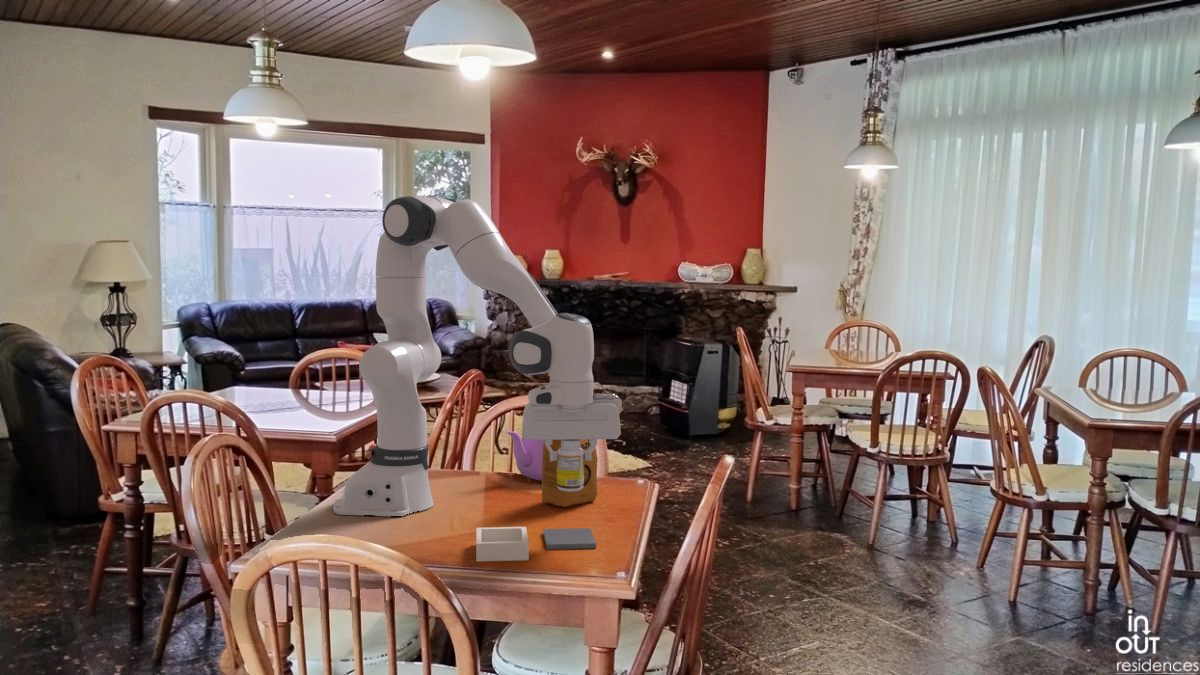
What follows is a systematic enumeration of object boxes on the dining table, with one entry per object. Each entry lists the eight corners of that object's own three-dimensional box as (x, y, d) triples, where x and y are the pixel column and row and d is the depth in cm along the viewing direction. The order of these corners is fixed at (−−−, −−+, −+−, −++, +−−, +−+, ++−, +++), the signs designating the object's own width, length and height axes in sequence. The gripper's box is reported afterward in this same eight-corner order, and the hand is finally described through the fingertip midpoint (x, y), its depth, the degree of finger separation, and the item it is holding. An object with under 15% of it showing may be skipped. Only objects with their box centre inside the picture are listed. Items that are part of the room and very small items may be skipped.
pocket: (476, 561, 173) (476, 543, 172) (476, 544, 183) (476, 527, 182) (528, 560, 174) (528, 542, 174) (525, 543, 184) (525, 526, 184)
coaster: (546, 549, 180) (546, 544, 180) (543, 533, 190) (543, 529, 190) (596, 548, 182) (596, 543, 182) (590, 532, 192) (590, 528, 192)
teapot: (548, 463, 253) (549, 410, 251) (595, 479, 236) (597, 422, 235) (479, 475, 238) (479, 419, 237) (524, 492, 222) (524, 432, 221)
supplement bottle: (569, 483, 189) (570, 435, 188) (589, 488, 185) (590, 439, 184) (550, 488, 185) (551, 439, 184) (571, 493, 181) (571, 443, 180)
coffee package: (603, 502, 215) (605, 411, 212) (562, 512, 206) (564, 417, 204) (575, 493, 222) (577, 405, 220) (536, 502, 214) (537, 411, 211)
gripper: (619, 391, 188) (618, 456, 189) (521, 391, 185) (520, 457, 186) (624, 396, 181) (623, 463, 183) (522, 396, 179) (522, 464, 180)
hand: (570, 460), depth 184 cm, fingers closed on supplement bottle, 5 cm apart
